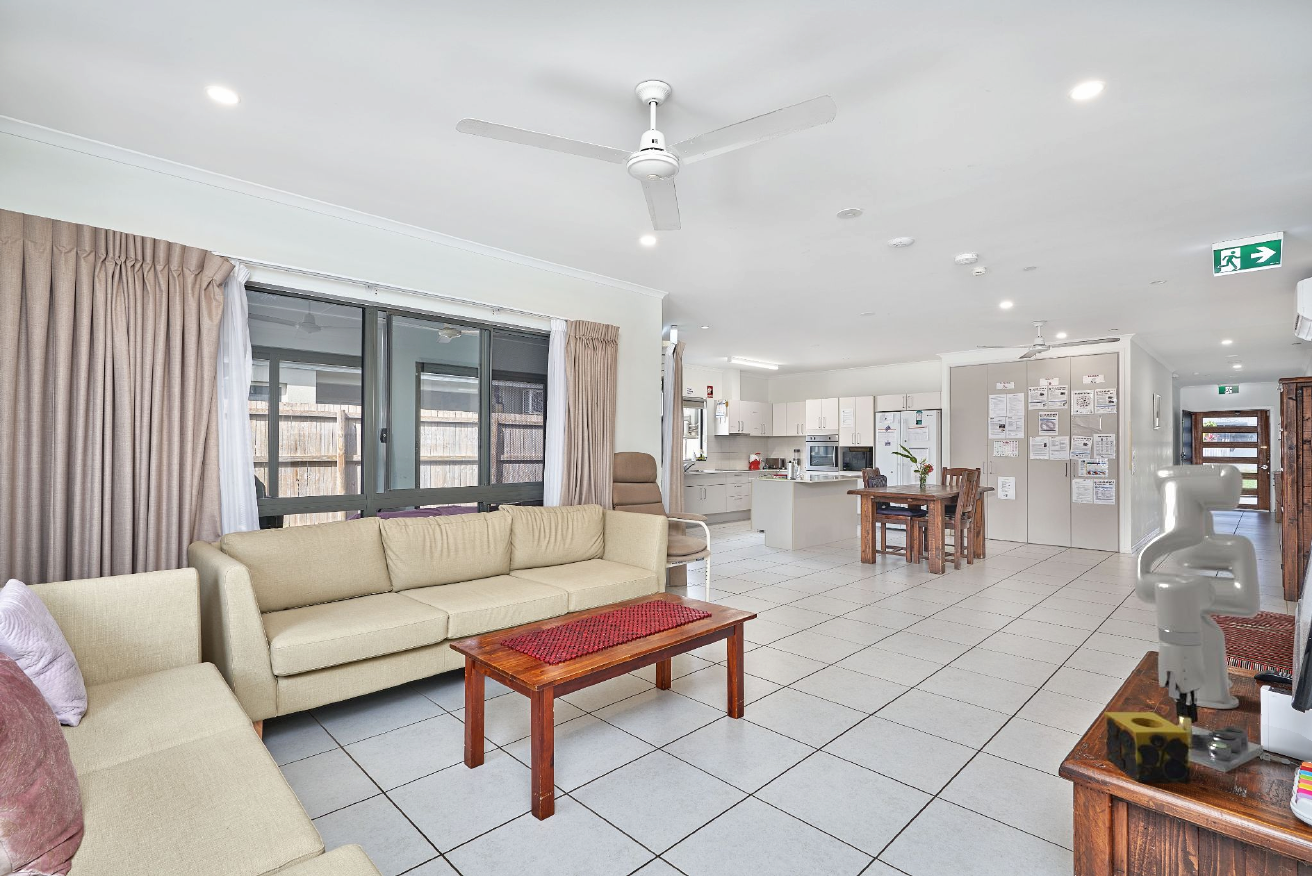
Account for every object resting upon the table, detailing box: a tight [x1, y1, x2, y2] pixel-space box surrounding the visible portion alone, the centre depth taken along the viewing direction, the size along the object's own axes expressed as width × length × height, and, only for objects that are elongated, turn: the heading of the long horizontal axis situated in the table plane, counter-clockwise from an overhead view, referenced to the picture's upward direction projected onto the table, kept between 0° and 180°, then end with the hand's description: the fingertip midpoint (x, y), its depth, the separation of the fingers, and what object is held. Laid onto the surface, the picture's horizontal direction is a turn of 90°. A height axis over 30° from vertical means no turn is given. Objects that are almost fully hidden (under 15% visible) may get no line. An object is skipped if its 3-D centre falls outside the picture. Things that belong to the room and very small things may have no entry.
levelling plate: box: [1176, 724, 1264, 774], centre depth 135 cm, size 16×14×4 cm
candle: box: [1103, 711, 1192, 784], centre depth 127 cm, size 10×10×10 cm
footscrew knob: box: [1178, 716, 1241, 752], centre depth 133 cm, size 10×5×6 cm, turn 79°
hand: (1187, 720), depth 139 cm, fingers closed
